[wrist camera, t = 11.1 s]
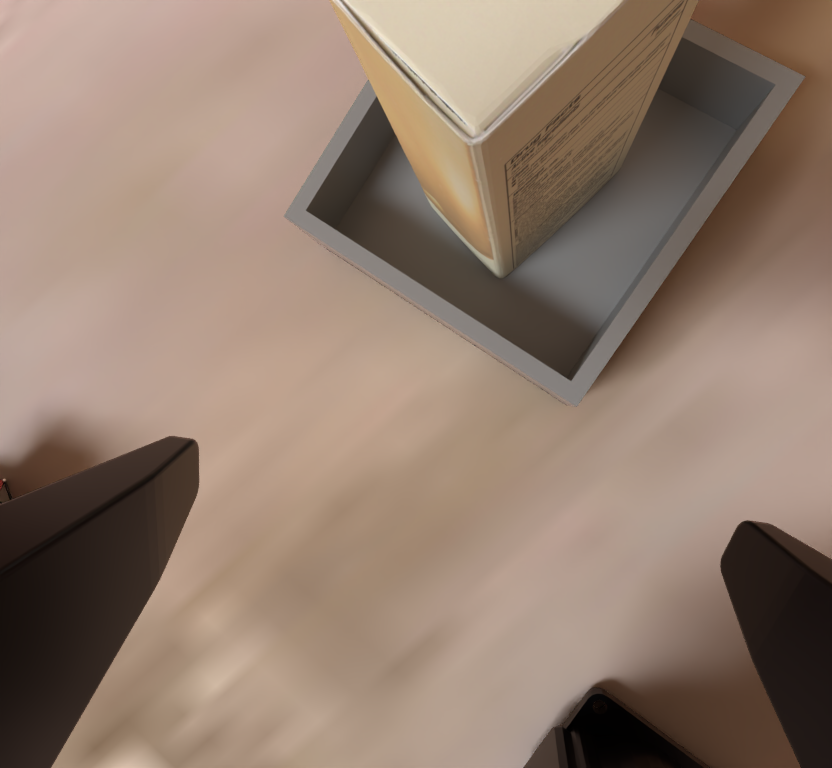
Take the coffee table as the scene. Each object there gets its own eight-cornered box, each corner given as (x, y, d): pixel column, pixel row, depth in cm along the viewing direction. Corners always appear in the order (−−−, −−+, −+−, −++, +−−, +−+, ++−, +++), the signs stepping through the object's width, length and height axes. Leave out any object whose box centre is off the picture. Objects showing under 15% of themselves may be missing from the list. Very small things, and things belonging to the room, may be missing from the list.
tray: (754, 131, 20) (805, 76, 16) (565, 404, 21) (576, 406, 17) (479, -14, 22) (472, -91, 18) (318, 243, 23) (283, 216, 19)
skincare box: (544, 92, 21) (590, -330, 9) (624, 170, 20) (794, -165, 8) (421, 210, 21) (306, -25, 9) (495, 289, 21) (473, 146, 9)
